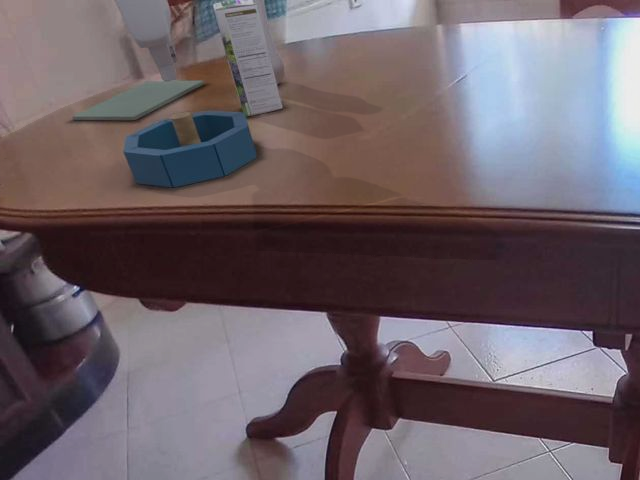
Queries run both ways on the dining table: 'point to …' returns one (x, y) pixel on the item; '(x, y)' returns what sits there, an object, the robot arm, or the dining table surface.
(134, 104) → the rubber mat
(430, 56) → the dining table surface
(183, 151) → the blue ring
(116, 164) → the dining table surface
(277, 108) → the syrup box
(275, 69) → the plastic bottle
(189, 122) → the dowel stand
